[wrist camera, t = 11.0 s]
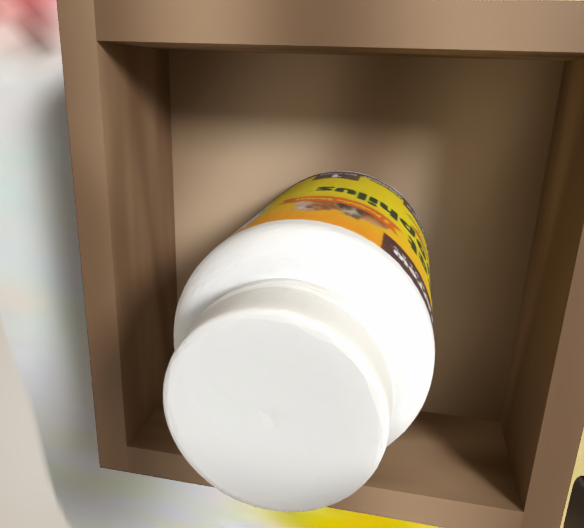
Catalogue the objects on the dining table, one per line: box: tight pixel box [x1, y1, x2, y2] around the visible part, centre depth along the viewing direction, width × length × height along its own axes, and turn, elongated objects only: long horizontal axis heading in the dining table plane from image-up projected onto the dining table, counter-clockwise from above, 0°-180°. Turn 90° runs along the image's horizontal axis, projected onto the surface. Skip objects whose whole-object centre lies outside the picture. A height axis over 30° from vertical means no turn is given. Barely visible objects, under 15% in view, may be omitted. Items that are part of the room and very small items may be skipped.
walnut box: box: [57, 0, 584, 528], centre depth 17 cm, size 14×14×5 cm
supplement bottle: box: [163, 171, 435, 512], centre depth 14 cm, size 6×6×10 cm
